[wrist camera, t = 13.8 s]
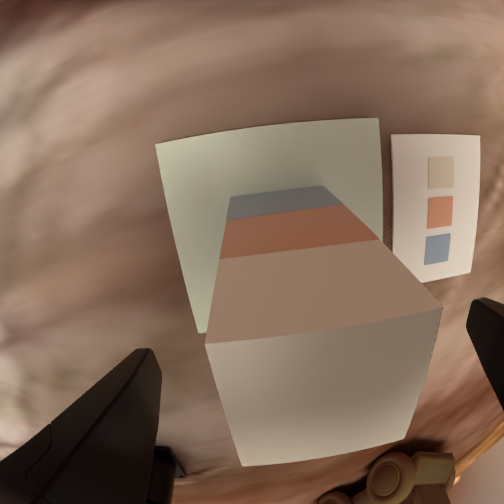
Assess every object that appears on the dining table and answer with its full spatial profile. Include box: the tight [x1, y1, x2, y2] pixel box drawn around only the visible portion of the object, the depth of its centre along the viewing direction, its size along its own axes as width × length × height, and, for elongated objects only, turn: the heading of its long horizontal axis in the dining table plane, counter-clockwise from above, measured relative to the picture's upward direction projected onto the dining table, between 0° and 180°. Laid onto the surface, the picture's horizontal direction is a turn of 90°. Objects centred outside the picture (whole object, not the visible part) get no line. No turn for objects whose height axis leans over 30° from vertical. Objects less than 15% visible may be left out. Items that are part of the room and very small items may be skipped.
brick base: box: [226, 185, 344, 221], centre depth 16 cm, size 5×5×4 cm
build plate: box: [155, 118, 383, 333], centre depth 18 cm, size 12×12×1 cm
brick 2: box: [205, 239, 443, 466], centre depth 9 cm, size 5×5×4 cm
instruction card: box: [390, 134, 480, 283], centre depth 18 cm, size 10×7×1 cm
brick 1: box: [219, 205, 379, 259], centre depth 13 cm, size 5×5×4 cm
